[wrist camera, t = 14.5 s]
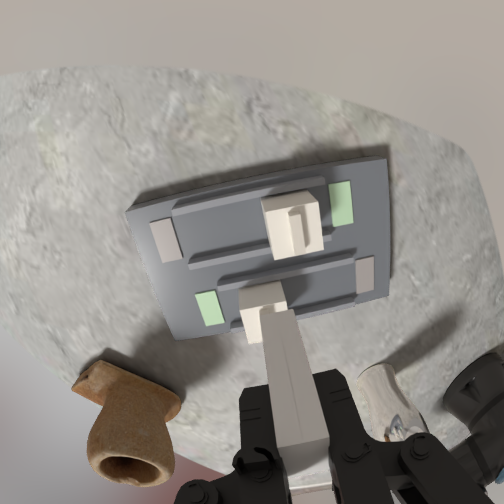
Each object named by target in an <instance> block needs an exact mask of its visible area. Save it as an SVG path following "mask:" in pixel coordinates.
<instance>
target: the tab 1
mask: <svg viewBox="0 0 504 504" xmlns="http://www.w3.org/2000/svg"><path fill="white" fill-rule="evenodd" d="M238 292H239V310H240V314H241V318H242V321H243V325H244V328H245V332H246V335H247V339H248V342H249V344H253V343H259V342H263V340H262V332H261V325H260V317H259V316H260V315H265V314H270V313H275V312H280V311H285V310H288V309H287V303H286V299H285V295H284V292H283V288H282V285H281V281H280V279H279V280H274V281H269V282H265V283H260V284H255V285H250V286H245V287H240V288H238Z"/></svg>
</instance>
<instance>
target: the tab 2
mask: <svg viewBox="0 0 504 504" xmlns="http://www.w3.org/2000/svg"><path fill="white" fill-rule="evenodd" d="M260 200H261V205H262V210H263V215H264V220H265V225H266V230H267V235H268V240H269V244H270V247H271V250H272V254H273V257H274V260H278V259H283V258H288V257H292V256H298V255H303V254H307V253H311V252H316V251H321V250H324V246H323V237H322V228H321V220H320V212H319V204H318V201H317V200H316V199H315V198H314V197H313V196H312V195H311V194H310V193H309V192H308V190H307V189H302V190H297V191H292V192H286V193H281V194H276V195H271V196H266V197H261V198H260Z"/></svg>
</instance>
